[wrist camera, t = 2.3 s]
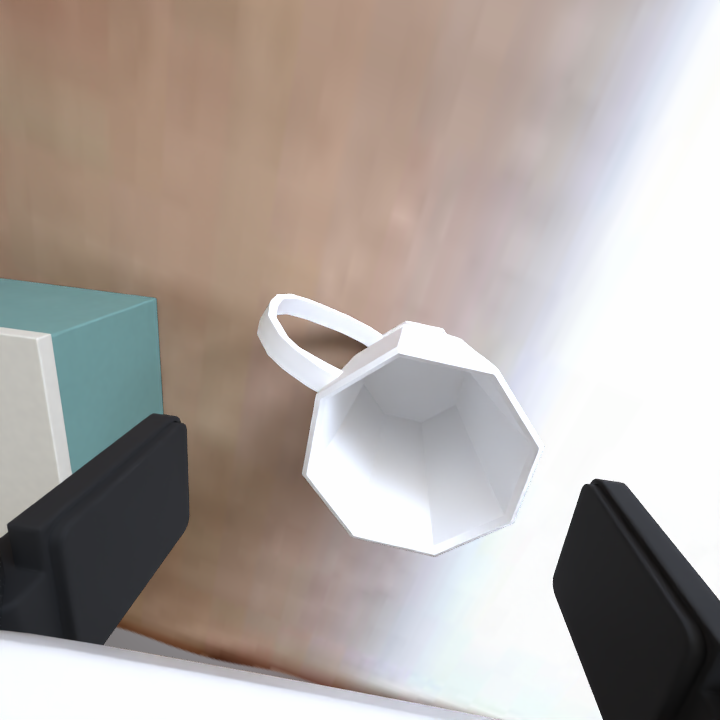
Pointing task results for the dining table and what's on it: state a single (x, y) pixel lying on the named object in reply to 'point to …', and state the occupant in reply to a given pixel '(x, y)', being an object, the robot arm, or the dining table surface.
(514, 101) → the dining table surface
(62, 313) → the stand
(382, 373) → the cup
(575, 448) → the dining table surface
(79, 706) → the robot arm
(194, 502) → the dining table surface
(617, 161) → the dining table surface
